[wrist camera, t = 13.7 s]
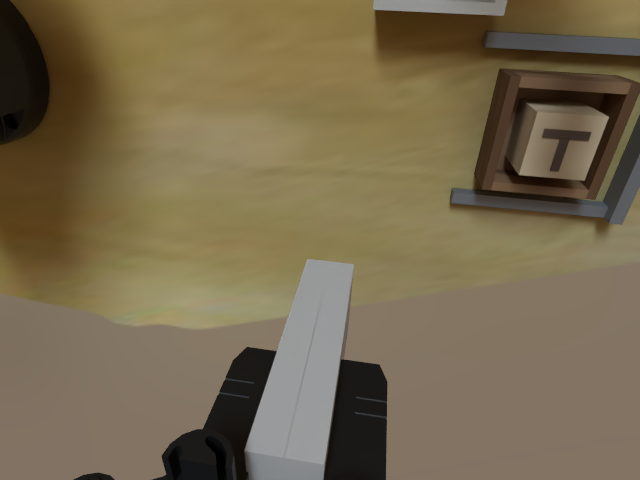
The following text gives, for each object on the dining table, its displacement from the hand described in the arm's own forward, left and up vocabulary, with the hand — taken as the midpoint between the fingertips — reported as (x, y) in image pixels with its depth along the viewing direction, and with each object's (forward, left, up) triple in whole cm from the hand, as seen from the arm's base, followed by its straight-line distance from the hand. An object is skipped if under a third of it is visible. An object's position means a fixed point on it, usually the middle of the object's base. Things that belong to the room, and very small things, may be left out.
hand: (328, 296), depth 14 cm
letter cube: (+14, 0, -24) cm, 28 cm away
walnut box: (+14, 0, -24) cm, 28 cm away
